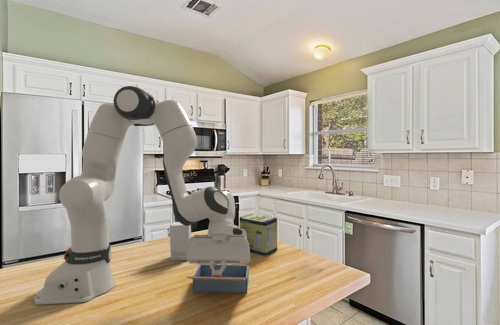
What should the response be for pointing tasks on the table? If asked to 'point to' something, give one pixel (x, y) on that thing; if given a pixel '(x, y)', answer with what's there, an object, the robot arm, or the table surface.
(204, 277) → the lid
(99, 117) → the robot arm
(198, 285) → the mailer
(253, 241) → the protein box
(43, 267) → the table surface
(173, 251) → the skincare box
